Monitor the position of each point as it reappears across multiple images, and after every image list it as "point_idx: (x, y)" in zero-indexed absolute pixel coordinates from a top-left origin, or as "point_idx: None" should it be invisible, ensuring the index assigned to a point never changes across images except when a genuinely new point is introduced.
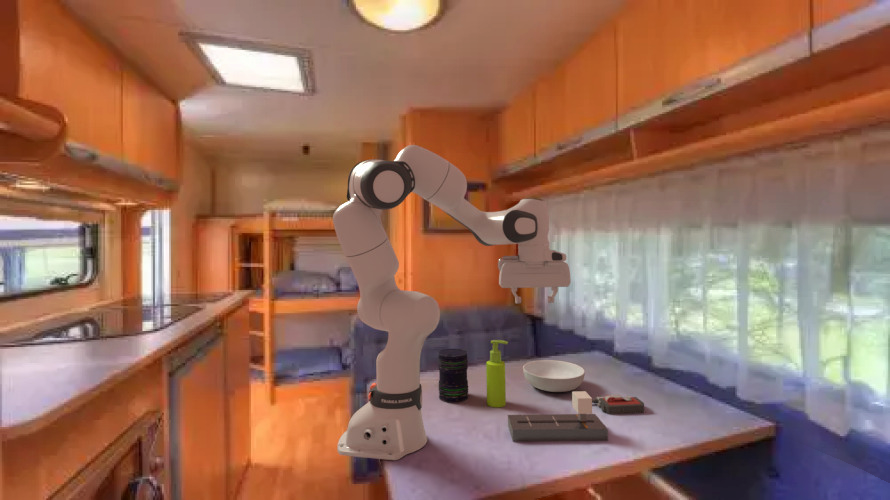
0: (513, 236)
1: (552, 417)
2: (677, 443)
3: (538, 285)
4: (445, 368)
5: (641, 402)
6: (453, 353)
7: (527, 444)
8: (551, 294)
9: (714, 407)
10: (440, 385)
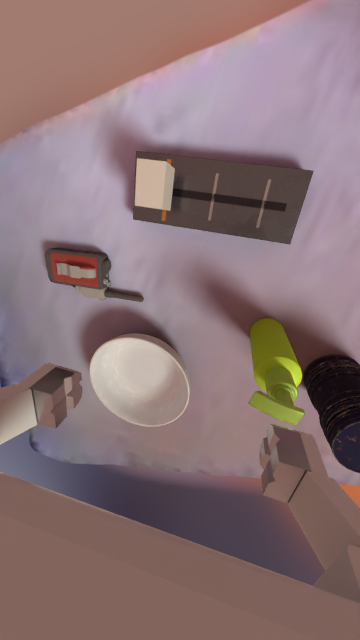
0: None
1: (211, 215)
2: (48, 132)
3: (63, 523)
4: None
5: (47, 255)
6: None
7: (285, 159)
8: (20, 427)
9: None
10: None
